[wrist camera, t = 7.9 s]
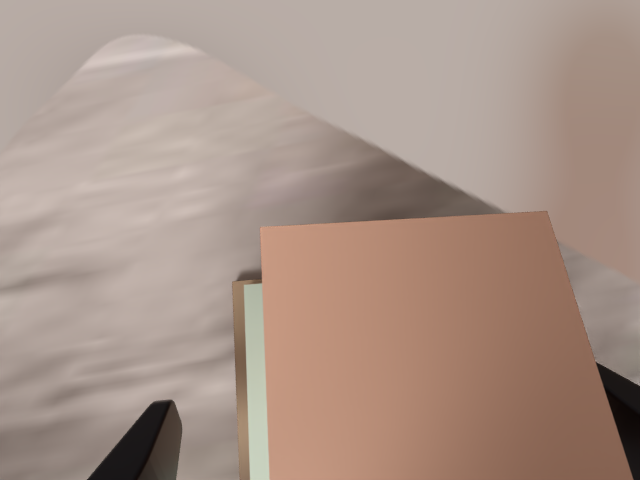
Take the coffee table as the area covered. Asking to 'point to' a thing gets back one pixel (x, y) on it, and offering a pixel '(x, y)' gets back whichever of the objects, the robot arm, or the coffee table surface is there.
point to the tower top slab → (256, 382)
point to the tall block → (430, 354)
